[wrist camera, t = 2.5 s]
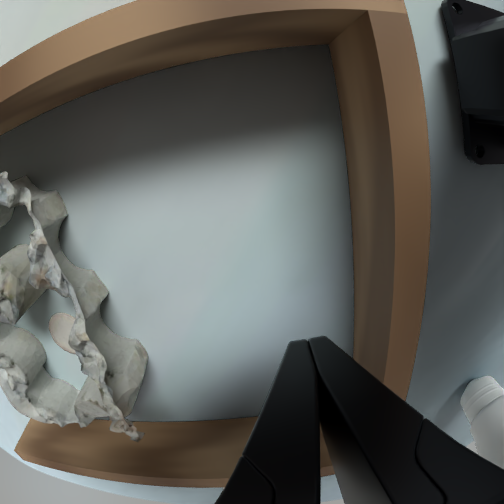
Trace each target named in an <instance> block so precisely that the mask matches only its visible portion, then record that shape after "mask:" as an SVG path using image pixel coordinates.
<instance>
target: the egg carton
mask: <svg viewBox="0 0 504 504" xmlns="http://www.w3.org/2000/svg"><path fill="white" fill-rule="evenodd" d="M7 175H8V173H7V172H6V171H4V172H2V173H0V227H2V226H4V225H5V224H7V223H8V222H9V221H10V219H11V217H12V215H13V211H14V207H17V206H22V205H26V206H27V210H28V213H29V215H30V216H31V217H32V219H33V222H34V227H35V230H34V231H33V232H32V233H31V234H30V239H31V242H30V245H28V244H19V245H17V246H15V247H14V248H13V249H11V250H10V251H8V252H7V253H6V254H4V255H3V256H1V257H0V386H1V388H2V389H3V391H4V393H5V395H6V397H7V398H8V400H9V402H10V403H11V405H12V406H13V407H14V408H15V409H16V410H17V411H18V412H20V413H21V414H23V415H25V416H27V417H29V418H32V419H35V420H37V421H40V422H43V423H48V424H55V423H56V424H59V426H60V427H64V426H65V425H66V424H69V423H79V425H80V427H81V428H82V427H86V426H87V425H89V424H90V423H91V422H92V421H93V420H94V419H95V418H96V417H106V416H110V419H109V420H111V421H112V423H111V425H110V427H109V429H110V431H113V432H118V433H122V432H125V433H126V434H127V435H128V436H130V437H131V439H130V440H133V441H136V442H139V441H140V440H141V439H142V437H143V436H144V434H145V433H143V432H139V431H136V429H137V428H136V427H135V426H133V422H131V421H129V420H128V419H125V417H126V416H128V415H130V413H131V411H132V409H133V406H134V404H135V402H136V399H137V395H138V393H139V390H140V387H141V384H142V381H143V377H144V373H145V370H146V365H147V360H148V354H147V352H146V350H145V348H144V347H143V346H142V344H141V343H140V342H139V340H137V339H128V338H125V337H121V336H119V335H117V334H115V333H114V332H113V331H111V330H110V329H109V328H108V327H107V326H106V325H105V323H104V322H103V320H102V318H101V315H100V304H101V302H102V300H103V299H104V298H105V297H106V296H107V294H108V293H109V291H108V289H107V288H106V286H105V285H104V284H103V283H102V281H101V280H100V279H99V278H98V276H97V275H96V273H95V272H94V271H93V270H85V269H82V268H78V267H76V266H75V265H73V264H72V263H71V262H70V261H69V260H68V259H67V258H66V257H65V255H64V253H63V252H62V250H61V247H60V243H59V239H58V235H59V229H60V226H61V223H62V221H63V220H64V219H65V217H66V216H67V215H68V213H67V210H66V207H65V204H64V202H63V200H62V198H61V196H60V195H59V193H58V192H57V191H56V190H54V191H42V190H40V189H38V188H37V187H36V186H34V185H33V183H32V182H31V181H30V180H29V178H28V177H27V176H26V175H25V176H23V177H21V178H19V179H16V180H14V181H11V182H9V180H8V179H7ZM46 289H51V290H55V291H57V292H58V293H59V294H60V295H61V296H63V297H71V298H72V299H73V303H74V306H75V310H76V318H74V317H73V316H71V315H68V314H66V313H55V314H54V315H53V316H51V319H50V321H49V330H50V333H51V335H52V338H53V340H54V341H55V343H56V344H57V345H59V346H60V347H61V348H62V349H63V350H65V351H68V352H69V353H73V354H76V355H77V356H78V357H79V360H80V363H81V364H82V365H81V371H82V372H83V373H84V374H86V375H88V377H87V379H86V381H85V383H84V385H83V387H82V389H81V391H80V390H78V389H76V388H75V387H74V386H73V385H71V384H70V383H68V382H66V381H64V380H61V379H55V378H52V377H51V376H50V375H49V374H48V372H47V371H46V370H45V369H44V367H43V364H44V363H45V361H46V352H45V349H44V347H43V345H42V344H41V342H40V341H39V340H38V339H37V338H36V337H35V336H34V335H33V334H32V333H30V332H29V331H27V330H25V329H23V328H17V327H15V326H14V324H16V322H17V321H18V320H19V319H20V318H21V316H22V315H23V314H24V313H25V312H26V310H27V309H28V308H30V307H31V306H32V305H33V304H34V302H35V301H36V300H37V299H38V298H39V297H40V296H41V295H42V294H43V293H44V292H45V290H46Z"/></svg>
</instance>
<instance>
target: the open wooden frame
mask: <svg viewBox="0 0 504 504" xmlns="http://www.w3.org/2000/svg"><path fill="white" fill-rule="evenodd" d="M307 45H329V49H330V54H331V59H332V64H333V69H334V75H335V81H336V87H337V93H338V99H339V105H340V112H341V119H342V126H343V134H344V142H345V151H346V160H347V169H348V180H349V191H350V204H351V218H352V236H353V260H354V350H353V359H354V360H355V361H356V362H358V363H359V364H360V365H361V366H362V367H364V368H365V369H366V370H367V371H368V372H370V373H371V374H372V375H373V376H375V377H376V378H377V379H378V380H379V381H381V382H382V383H383V384H384V385H386V386H387V387H388V388H389V389H391V390H392V391H393V392H394V393H395V394H397V395H398V396H399V397H400V398H402V399H403V400H404V401H406V397H407V393H408V389H409V384H410V380H411V376H412V371H413V366H414V362H415V357H416V351H417V346H418V341H419V335H420V329H421V322H422V315H423V308H424V301H425V292H426V283H427V272H428V260H429V245H430V219H431V181H430V156H429V141H428V129H427V119H426V110H425V102H424V94H423V87H422V81H421V75H420V69H419V63H418V58H417V53H416V48H415V43H414V39H413V34H412V30H411V26H410V22H409V18H408V14H407V11H406V7H405V3H404V0H137V1H134V2H131V3H128V4H125V5H122V6H119V7H117V8H114V9H111V10H109V11H106V12H104V13H101V14H99V15H96V16H94V17H91V18H89V19H87V20H85V21H82V22H80V23H78V24H76V25H74V26H72V27H69V28H67V29H65V30H63V31H61V32H59V33H57V34H55V35H53V36H52V37H50V38H48V39H46V40H44V41H42V42H40V43H39V44H37V45H35V46H33V47H32V48H30V49H28V50H27V51H25V52H23V53H22V54H20V55H18V56H17V57H15V58H14V59H12V60H10V61H9V62H7V63H6V64H4V65H3V66H1V67H0V136H1V135H3V134H4V133H6V132H8V131H10V130H12V129H13V128H15V127H17V126H19V125H21V124H23V123H25V122H27V121H29V120H31V119H33V118H35V117H37V116H39V115H41V114H43V113H45V112H47V111H49V110H51V109H53V108H56V107H58V106H60V105H62V104H65V103H67V102H69V101H72V100H74V99H76V98H79V97H81V96H84V95H86V94H89V93H91V92H94V91H97V90H99V89H102V88H105V87H108V86H110V85H113V84H116V83H119V82H122V81H125V80H128V79H131V78H135V77H138V76H141V75H144V74H148V73H151V72H155V71H158V70H162V69H166V68H169V67H173V66H177V65H182V64H186V63H190V62H194V61H199V60H204V59H209V58H214V57H219V56H224V55H230V54H236V53H242V52H249V51H256V50H264V49H273V48H282V47H294V46H307ZM257 419H258V416H256V417H247V418H236V419H224V420H209V421H187V422H134V421H131V422H133V426H135V427H136V428H137V429H136V431H139V432H143V433H145V434H144V436H143V437H142V439H141V440H140V441H139V442H136V441H133V440H130V439H131V437H130V436H128V435H127V434H126V433H125V432H122V433H118V432H113V431H110V429H109V427H110V425H111V423H112V421H111V420H98V419H94V420H93V421H92V422H91V423H90V424H89V425H87V426H86V427H82V428H81V427H80V425H79V423H69V424H66V425H65V426H64V427H60V426H59V424H56V423H55V424H48V423H43V422H40V421H37V420H35V419H32V418H31V419H30V421H29V422H28V424H27V426H26V428H25V430H24V432H23V434H22V436H21V438H20V439H19V441H18V443H17V445H16V447H15V449H14V451H15V452H16V453H17V454H18V455H19V456H20V457H21V458H22V459H23V460H25V461H28V462H32V463H35V464H38V465H42V466H45V467H49V468H53V469H57V470H61V471H65V472H69V473H74V474H78V475H83V476H88V477H93V478H99V479H105V480H111V481H118V482H125V483H133V484H143V485H154V486H168V487H196V488H213V487H225V486H226V484H227V482H228V480H229V478H230V476H231V475H232V473H233V471H234V469H235V467H236V464H237V462H238V460H239V458H240V457H241V456H242V452H243V450H244V448H245V446H246V443H247V441H248V439H249V437H250V435H251V432H252V430H253V428H254V426H255V423H256V421H257ZM320 466H321V477H323V476H328V475H333V474H335V472H334V468H333V465H332V462H331V459H330V456H329V453H328V450H327V447H326V443H325V440H324V437H323V434H322V431H321V427H320Z"/></svg>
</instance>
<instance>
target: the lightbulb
mask: <svg viewBox="0 0 504 504" xmlns="http://www.w3.org/2000/svg"><path fill="white" fill-rule="evenodd" d="M460 404H461V406H462V408H463V411H464V413H465V414H466V417H467V418H468V420H469V423H470V424H471V428H470V432H471V435H472V437H473V439H474V441H475V445H476V448H477V452H478V455H479V456H481V457H483V458H485V459H486V460H488V461H490V462H492V463H493V464H495V465H497V466H499V467H501V468H502V469H504V390H503V388H501V387H500V385H499V384H498V383H497V382H496V380H495V379H494V378H493V377H492V376H483V377H481V378H479V379H478V378H476V379H474V380H472V381H471V382H470V383H469V384H468V385H467V386H466V390H465V391H464V393H463V395H462V397H461V401H460Z"/></svg>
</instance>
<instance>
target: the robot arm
mask: <svg viewBox="0 0 504 504" xmlns="http://www.w3.org/2000/svg"><path fill="white" fill-rule="evenodd" d="M441 6H442V11H443V15H444V18H445V22H446V26H447V30H448V34H449V38H450V43H451V47H452V52H453V57H454V62H455V68H456V74H457V80H458V87H459V94H460V102H461V111H462V121H463V133H464V150H465V155H466V157H467V159H468V160H469V161H470V162H472V163H476V164H480V165H484V164H504V13H502V12H500V11H497V10H494V9H491V8H488V7H485V6H482V5H479V4H476V3H473V2H470V1H466V0H444V1H442V4H441ZM452 6H453V7H454V8H455V9H456V11H457V13H456V12H455V11H454V9H453V7H452ZM477 146H478V154H477V155H476V152H475V150H476V147H477ZM423 419H424V416H423V415H422V414H420V413H419V412H418V411H417V410H415V409H414V408H413V407H412V406H410V405H409V404H408V403H407V402H405V401H404V400H403V399H402V398H400V397H399V396H398V395H397V394H395V393H394V392H393V391H392V390H391V389H389V388H388V387H387V386H386V385H384V384H383V383H382V382H381V381H379V380H378V379H377V378H376V377H375V376H373V375H372V374H371V373H370V372H368V371H367V370H366V369H365V368H364V367H362V366H361V365H360V364H359V363H358V362H356V361H355V360H354V359H353V358H351V357H350V356H349V355H348V354H347V353H345V352H344V351H343V350H342V349H341V348H339V347H338V346H337V345H336V344H335V343H333V342H332V341H331V340H330V339H328V338H327V337H326V336H319V337H314V338H309V339H308V341H307V340H305V339H302V340H296V341H291V342H289V344H288V346H287V349H286V351H285V354H284V356H283V359H282V361H281V364H280V366H279V369H278V371H277V374H276V376H275V379H274V381H273V383H272V386H271V388H270V391H269V393H268V395H267V398H266V400H265V402H264V405H263V407H262V409H261V412H260V414H259V416H258V419H257V421H256V423H255V426H254V428H253V430H252V432H251V435H250V437H249V439H248V441H247V443H246V446H245V448H244V450H243V452H242V456H241V457H240V458H239V460H238V462H237V464H236V467H235V469H234V471H233V473H232V475H231V476H230V478H229V480H228V482H227V484H226V486H225V488H224V489H223V491H222V493H221V495H220V496H219V498H218V499H217V501H216V502H215V504H320V490H321V466H320V427H321V431H322V434H323V437H324V440H325V443H326V447H327V450H328V453H329V456H330V459H331V462H332V465H333V468H334V472H335V475H336V478H337V481H338V484H339V487H340V490H341V494H342V497H343V500H344V503H345V504H504V469H502V468H501V467H499V466H497V465H495V464H493V463H492V462H490V461H488V460H486V459H485V458H483V457H481V456H479V455H478V454H476V453H474V452H473V451H471V450H470V449H468V448H466V447H465V446H463V445H462V444H460V443H459V442H457V441H456V440H454V439H453V438H452V437H450V436H449V435H447V434H446V433H445V432H443V431H442V430H441V429H439V428H438V427H437V426H436V425H434V424H433V423H432V422H430V421H429V420H428V419H427V418H425V419H424V420H423Z"/></svg>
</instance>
